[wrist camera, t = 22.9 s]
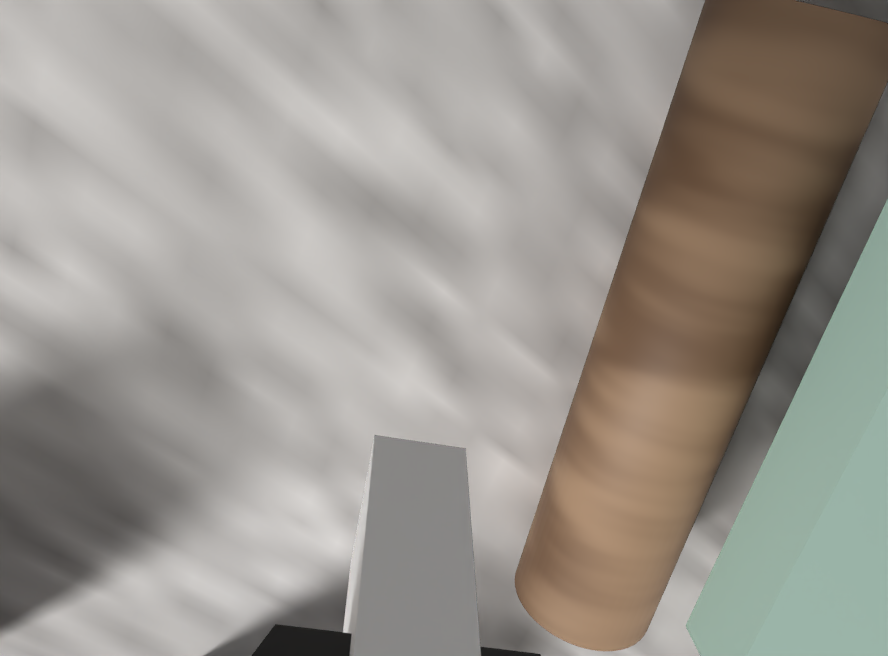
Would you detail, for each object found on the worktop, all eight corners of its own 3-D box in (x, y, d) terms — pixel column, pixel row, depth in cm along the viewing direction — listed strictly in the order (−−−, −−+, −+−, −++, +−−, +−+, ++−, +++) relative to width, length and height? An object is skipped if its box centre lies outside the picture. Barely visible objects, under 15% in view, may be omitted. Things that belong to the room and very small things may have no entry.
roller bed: (686, -21, 25) (752, -11, 20) (1185, 101, 27) (1356, 138, 22) (508, 539, 34) (523, 640, 29) (888, 598, 36) (961, 702, 31)
